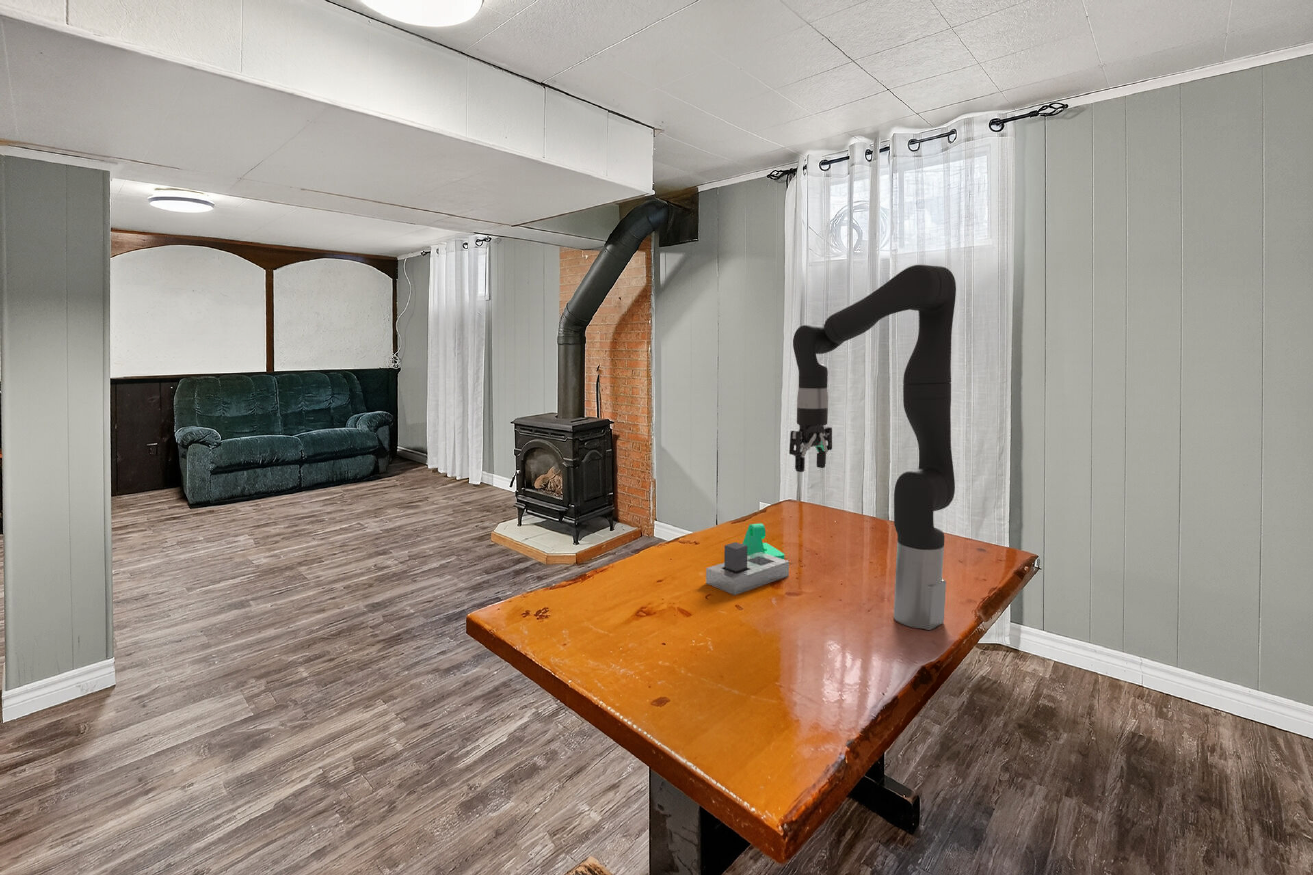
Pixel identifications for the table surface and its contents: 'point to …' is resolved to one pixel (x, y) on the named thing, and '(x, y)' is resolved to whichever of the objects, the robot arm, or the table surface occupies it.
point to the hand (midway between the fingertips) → (810, 469)
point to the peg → (735, 558)
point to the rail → (748, 574)
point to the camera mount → (759, 542)
